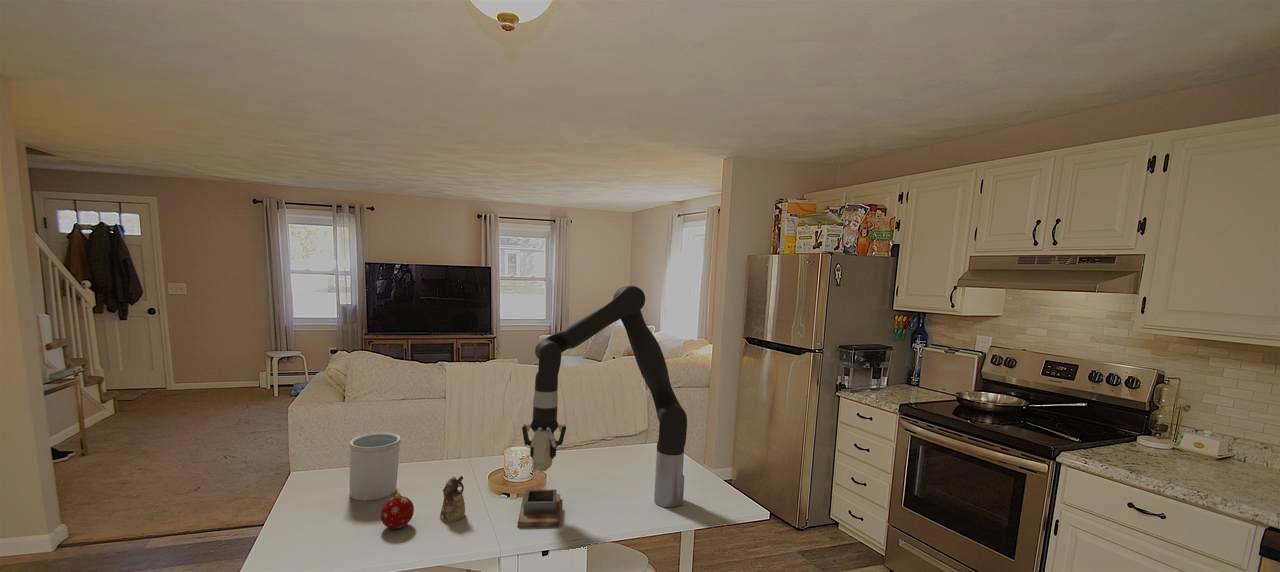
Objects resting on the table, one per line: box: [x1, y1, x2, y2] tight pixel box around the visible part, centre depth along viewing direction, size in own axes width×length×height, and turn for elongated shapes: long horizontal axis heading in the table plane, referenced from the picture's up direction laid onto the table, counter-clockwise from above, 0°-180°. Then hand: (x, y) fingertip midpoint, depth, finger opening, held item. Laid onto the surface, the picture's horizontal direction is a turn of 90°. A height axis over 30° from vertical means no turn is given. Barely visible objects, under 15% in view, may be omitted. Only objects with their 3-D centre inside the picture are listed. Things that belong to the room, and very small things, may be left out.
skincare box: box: [532, 430, 553, 472], centre depth 158 cm, size 6×4×12 cm
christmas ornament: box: [380, 491, 415, 530], centre depth 145 cm, size 9×9×10 cm
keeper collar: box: [523, 489, 558, 515], centre depth 158 cm, size 10×10×4 cm
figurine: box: [439, 475, 466, 523], centre depth 152 cm, size 7×7×12 cm
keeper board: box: [517, 493, 561, 528], centre depth 158 cm, size 12×19×2 cm, turn 8°
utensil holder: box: [349, 432, 402, 502], centre depth 166 cm, size 15×15×18 cm
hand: (542, 457), depth 158 cm, fingers closed on skincare box, 5 cm apart
